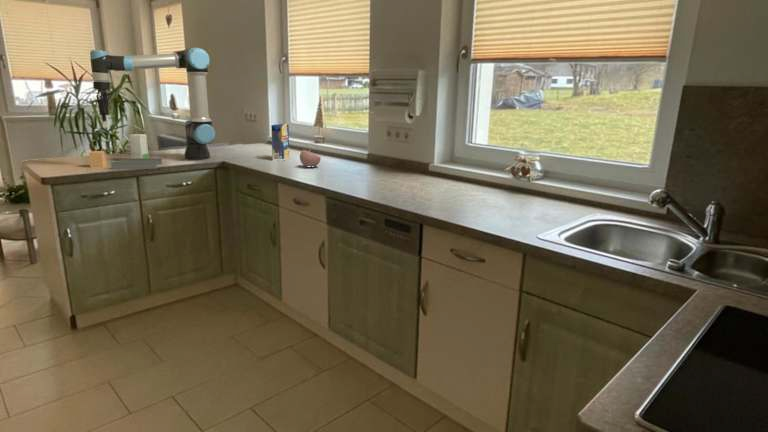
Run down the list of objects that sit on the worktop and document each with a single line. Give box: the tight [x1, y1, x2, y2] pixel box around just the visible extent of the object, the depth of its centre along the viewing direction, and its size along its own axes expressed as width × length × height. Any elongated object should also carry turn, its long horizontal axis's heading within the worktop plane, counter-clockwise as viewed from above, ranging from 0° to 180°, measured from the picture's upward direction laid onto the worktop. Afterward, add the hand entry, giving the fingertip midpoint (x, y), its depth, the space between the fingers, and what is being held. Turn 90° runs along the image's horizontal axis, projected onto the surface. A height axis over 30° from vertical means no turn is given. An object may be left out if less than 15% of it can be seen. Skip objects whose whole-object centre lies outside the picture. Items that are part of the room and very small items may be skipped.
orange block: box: [88, 150, 107, 168], centre depth 259 cm, size 6×6×8 cm
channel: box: [110, 157, 163, 170], centre depth 264 cm, size 22×15×3 cm
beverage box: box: [270, 123, 290, 159], centre depth 302 cm, size 7×11×22 cm, turn 169°
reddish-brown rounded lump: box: [299, 147, 321, 168], centre depth 279 cm, size 12×12×12 cm
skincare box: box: [128, 133, 149, 158], centre depth 280 cm, size 8×7×16 cm
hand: (105, 127), depth 256 cm, fingers closed
